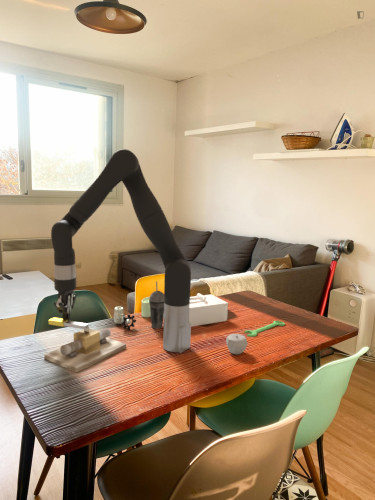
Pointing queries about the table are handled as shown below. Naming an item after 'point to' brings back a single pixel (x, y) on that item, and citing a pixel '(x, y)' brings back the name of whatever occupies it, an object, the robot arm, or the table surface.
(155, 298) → the beverage cup
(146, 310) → the candle
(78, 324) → the valve lever
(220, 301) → the tissue box
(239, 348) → the apple
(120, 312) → the valve
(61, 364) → the pipe board
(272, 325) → the wrench
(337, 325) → the table surface
